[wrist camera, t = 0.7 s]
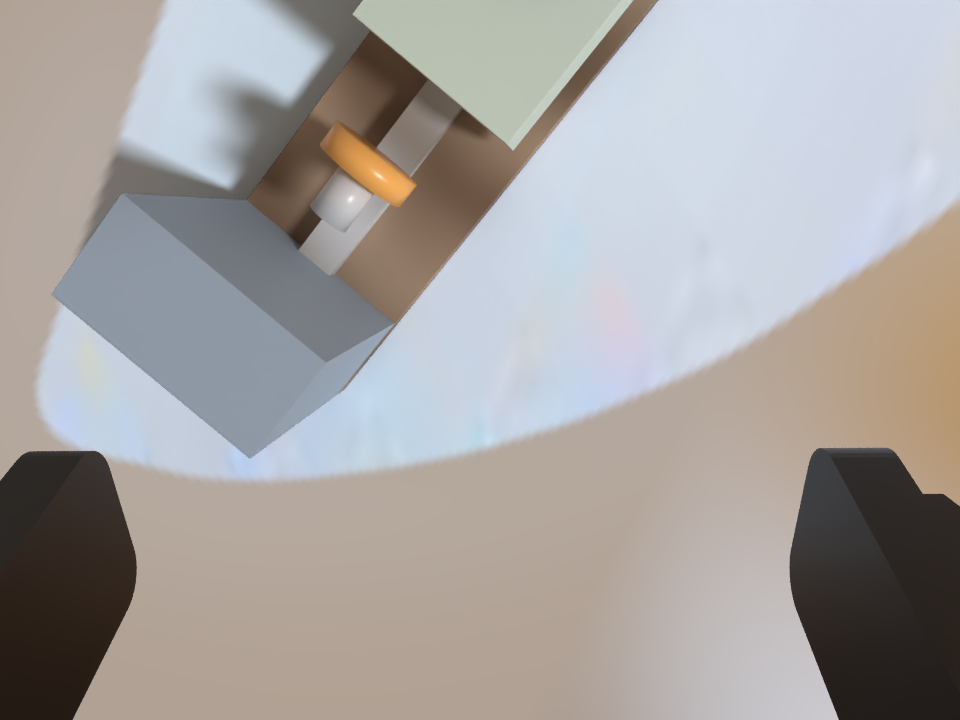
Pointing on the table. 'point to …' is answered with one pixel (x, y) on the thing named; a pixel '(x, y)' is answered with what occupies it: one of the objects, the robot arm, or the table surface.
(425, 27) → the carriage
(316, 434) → the table surface
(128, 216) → the end cabinet
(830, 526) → the robot arm
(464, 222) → the track
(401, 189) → the button
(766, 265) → the table surface
